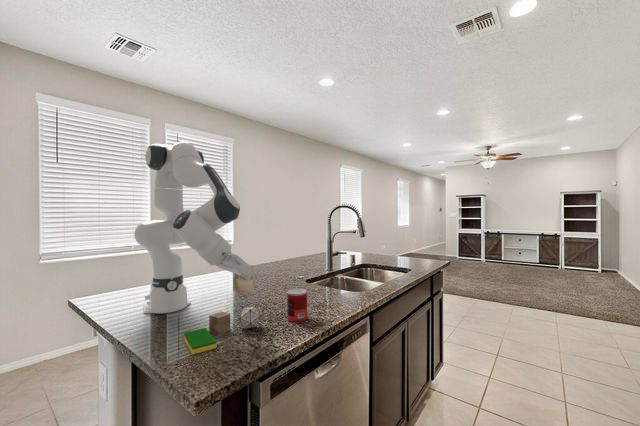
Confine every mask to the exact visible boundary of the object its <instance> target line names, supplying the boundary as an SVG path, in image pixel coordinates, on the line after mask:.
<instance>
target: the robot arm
mask: <svg viewBox="0 0 640 426" xmlns="http://www.w3.org/2000/svg"><path fill="white" fill-rule="evenodd" d="M144 158H145V162H146V165H147V166H148V168H149V169H152V170H153V171H156V173H155V177H154V178H155V179H154V193H153V194H154V195H153V197H154V199H153V203H154V207H155V209H157V210H159V211H161V212H162V213H164V215H165V218H166V219H164V220H162V219H161V220H160V219H159V220H149V221H145V222H140V223H139V224H137V226H136V228H135V230H134V235H133V236H134V239H135V241H136V243H137V244H138V245H139V246H140V247H142V248H145V250H146V251H147V252H148V253H149V255H150V257H151V260H152V267H153V277H152V281H151V282H152V283H151V286H152V287H151V288H150V290H149V292H148V294H145V295H144V299H145V302H144V303H143V314H167V313H168V314H169V313H174V312H178V311H180V310H181V311H182V309H185V308H186V307H187V306H190V305H191V302H192V301H190V300H188V291H187V289H188V288H187V285H185V284H184V275H183V271H182V270H183V260H182V257H181V256H180V255H179V254H177V253H175V252H172V250H171V248H170V246H171V245H181V244H186V245H187V246H188V247H190V249H193V250H195V251H196V252H197V253H198V256H200V257H201V258H202V259H203V260H204V261H206V263H208V264H209V265H210V266H216V267H218V268H219V269H221V270H225V271H227V272H231V273H232V274H233V273H235V274H238V275H240V276H243V278H244V279H246V280H248V281H249V280H250V278H251V276H250V275H249V273H250V272H251V270H252V268H251V267H250V266H249V265H250V264H249V263H248V262H246V261H245V260H244V259H243V258H242V257H240V256H239V255H237V254H236V253H232V245H231V244H230V243H229V242H228V241H227V240H226V239H225V238H224V237H223V236H222V235H221V234H219V233H217V231H218V230H220V229H221V228H223V227H224V226H226V225H227V224H230V223H231V222H233V221H235V220H237V219H238V218H239V215H240V210H241V207H240V204H239V202H238V200H236V199H235V197H234V196H233V194H232V193H231V192H230V190H229V189H228V188H227V185H226V184H225V183H224V181H223V179H222V178H221V177H220V175H219V173H218V172H217V171H216V169H214V167H212V166H211V165H210V164H208V163H205V157H204V155H203V153H202V151H200V150H198V149H197V148H196V146H194V145H193V144H192V143H190V142H188V141H179V142H176V143H174V144H173V145H172V144H171V145H169V144H168V145H167V144H161V143H153V144H150V145H149V146H147V149H146V151H145V155H144ZM205 185H208V186H209V188H210V190H211V191H212V193H213V196H212V197H211V199H210V200H208V201H206V202H205V203H203V204H202V205H201V206H199V207H197V208H195V209H194V210H191V209H185V208H184V203H183V202H184V201H183V198H184V197H183V196H184V195H183V193H184V187H187V188H199V187H203V186H205ZM184 209H185V210H184ZM248 264H249V265H248Z"/></svg>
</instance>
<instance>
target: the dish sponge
mask: <svg viewBox="0 0 640 426" xmlns="http://www.w3.org/2000/svg"><path fill="white" fill-rule="evenodd" d="M183 340H184V342H185V343H186V345H187V348H188V349H189V350H190V353H191V354H192V355H196V354H199V353H202V352H206V351H211V350H214V349H217V346H218V345H217V340H216V338H214V336H213V335H212V333H210V332H209V329H207V328H206V327H202V328H199V329H195V330H190V331H186V332H183Z"/></svg>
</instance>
